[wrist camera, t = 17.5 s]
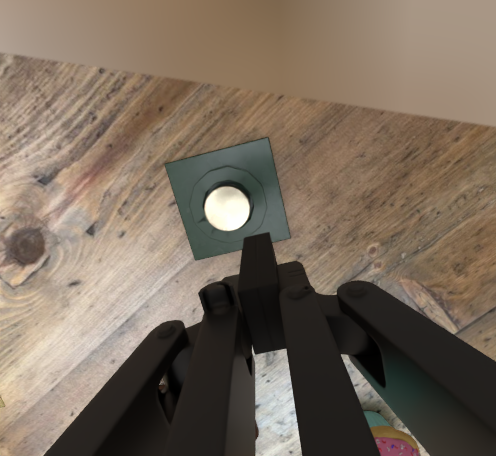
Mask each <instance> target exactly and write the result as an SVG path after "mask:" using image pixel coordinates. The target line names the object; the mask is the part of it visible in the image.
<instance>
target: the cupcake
mask: <svg viewBox="0 0 496 456" xmlns="http://www.w3.org/2000/svg"><path fill="white" fill-rule="evenodd" d="M363 412H364V414H365V417H366V419H367V422H368V424H369V427H370V429H371V432H372V434H373V437H374V439H375V442H376V444H377V447H378V449H379V452H380V454H381V456H421V455H420V451H419V448H418V445H417V443H416V442H415V440H414V439H413V438H412V437H411V436H409V435H407V434H406V433H404V432H402V431H399V430H396V429H394V428H393V427H392V426H391V425H390V424H389V423H388V422H387V421H386V420H385V419H384V418H383V417H382V416H381V415H380V414H378V413H376V412H373V411H363Z"/></svg>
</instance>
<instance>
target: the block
mask: <svg viewBox="0 0 496 456" xmlns="http://www.w3.org/2000/svg"><path fill="white" fill-rule="evenodd" d="M165 167H166V171H167V174H168V177H169V180H170V183H171V186H172V189H173V193H174V196H175V199H176V202H177V205H178V208H179V211H180V215H181V218H182V221H183V224H184V227H185V230H186V233H187V236H188V240H189V243H190V246H191V249H192V252H193V255H194V258H195V260H200V259H204V258H209V257H213V256H217V255H221V254H226V253H230V252H234V251H239V250H242V248H243V240H244V238H245V237H249V236H253V235H258V234H262V233H266V232H270V237H271V241H272V243H273V242H277V241H282V240H286V239H290V238H291V236H290V232H289V227H288V223H287V218H286V214H285V209H284V205H283V200H282V196H281V191H280V187H279V182H278V178H277V173H276V169H275V164H274V160H273V155H272V151H271V146H270V142H269V138H268V137H266V138H262V139H258V140H254V141H251V142H247V143H243V144H239V145H235V146H231V147H228V148H224V149H220V150H216V151H212V152H208V153H205V154H201V155H197V156H193V157H189V158H185V159H182V160H178V161H174V162H170V163H166V164H165ZM222 184H234V185H237V186H239V187H240V188H242V189H243V190H244V191H245V192H246V193H247V195H248V197H249V200H250V215H249V218H248V220H247V221H246V223H245V224H244V225H243V226H242V227H240V228H239V229H237V230H234V231H222V230H219V229H217V228H215V227H213V226H212V225H211V224H210V223H209V221H208V220H207V218H206V216H205V212H204V205H205V201H206V198H207V197H208V195H209V194H210V193H211V191H212V190H213V189H215V188H216V187H217V186H219V185H222Z"/></svg>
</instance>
